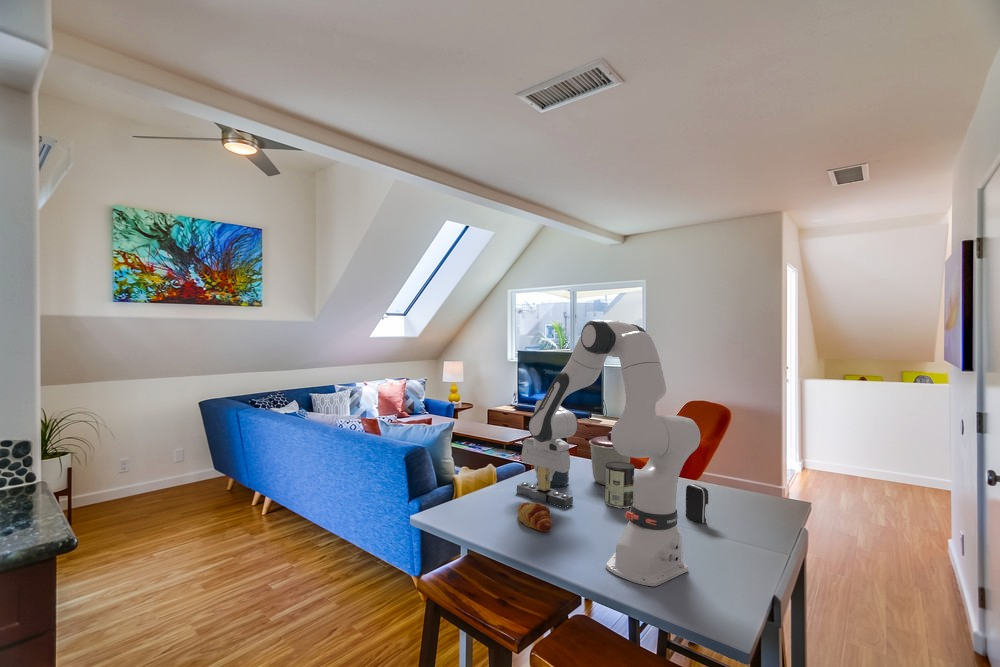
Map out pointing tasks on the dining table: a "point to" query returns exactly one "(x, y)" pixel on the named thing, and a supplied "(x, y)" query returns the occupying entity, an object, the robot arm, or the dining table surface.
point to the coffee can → (619, 484)
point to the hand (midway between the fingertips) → (544, 479)
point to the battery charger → (696, 502)
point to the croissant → (535, 516)
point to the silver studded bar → (544, 495)
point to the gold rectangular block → (543, 479)
